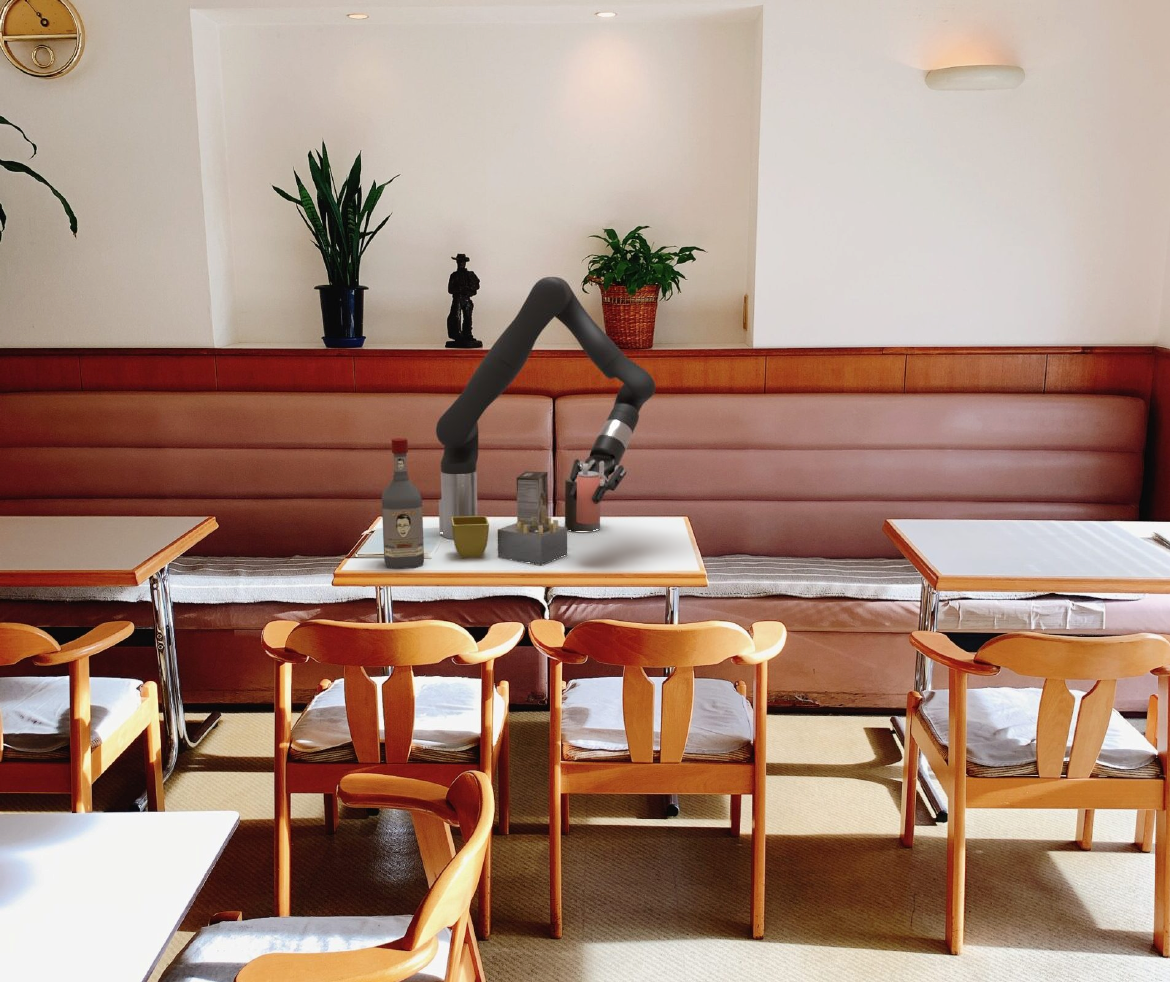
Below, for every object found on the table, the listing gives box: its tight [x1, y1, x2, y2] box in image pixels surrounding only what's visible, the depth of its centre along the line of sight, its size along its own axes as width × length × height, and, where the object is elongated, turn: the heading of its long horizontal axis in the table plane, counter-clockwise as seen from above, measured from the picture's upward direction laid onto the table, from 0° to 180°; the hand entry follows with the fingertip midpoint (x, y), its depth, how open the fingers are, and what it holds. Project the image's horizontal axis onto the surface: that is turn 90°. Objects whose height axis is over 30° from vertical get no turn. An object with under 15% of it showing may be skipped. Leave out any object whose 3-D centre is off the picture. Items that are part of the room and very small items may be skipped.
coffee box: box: [516, 471, 549, 524], centre depth 276 cm, size 9×6×16 cm
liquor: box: [381, 437, 425, 570], centre depth 246 cm, size 9×9×30 cm
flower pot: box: [451, 515, 490, 559], centre depth 255 cm, size 9×9×9 cm
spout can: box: [576, 464, 601, 524], centre depth 246 cm, size 5×5×14 cm
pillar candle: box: [564, 476, 601, 531], centre depth 281 cm, size 10×10×15 cm
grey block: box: [497, 516, 568, 566], centre depth 255 cm, size 16×11×9 cm
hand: (584, 500), depth 245 cm, fingers closed on spout can, 5 cm apart
